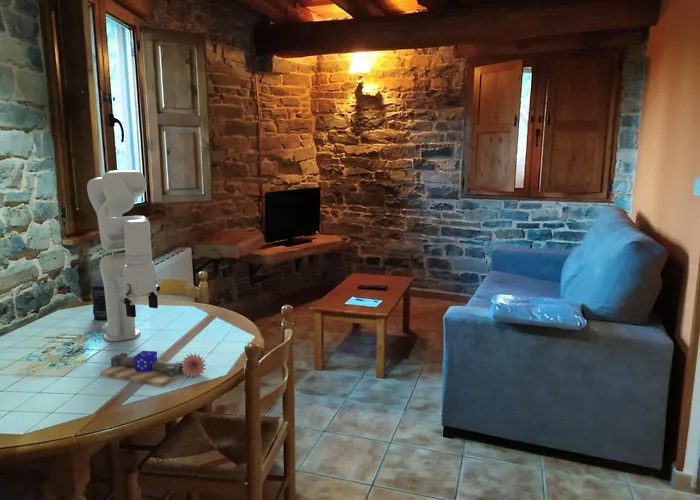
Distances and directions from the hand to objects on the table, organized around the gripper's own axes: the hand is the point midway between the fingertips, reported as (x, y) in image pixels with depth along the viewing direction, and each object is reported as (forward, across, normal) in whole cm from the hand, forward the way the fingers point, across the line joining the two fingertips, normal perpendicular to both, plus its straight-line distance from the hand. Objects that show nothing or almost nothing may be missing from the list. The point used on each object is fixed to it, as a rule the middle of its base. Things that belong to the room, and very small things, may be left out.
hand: (142, 312), depth 169 cm
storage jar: (+21, -37, -55) cm, 70 cm away
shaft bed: (+19, +2, +2) cm, 19 cm away
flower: (+19, -2, +17) cm, 26 cm away
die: (+18, +2, +2) cm, 18 cm away
